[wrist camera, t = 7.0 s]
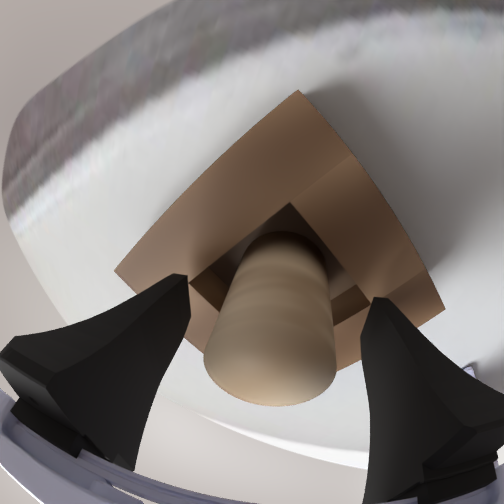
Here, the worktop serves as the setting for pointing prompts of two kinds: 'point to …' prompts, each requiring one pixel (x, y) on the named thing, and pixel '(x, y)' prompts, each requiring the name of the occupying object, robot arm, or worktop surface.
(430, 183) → the worktop surface
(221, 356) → the pin
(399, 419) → the robot arm
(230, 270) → the socket block
